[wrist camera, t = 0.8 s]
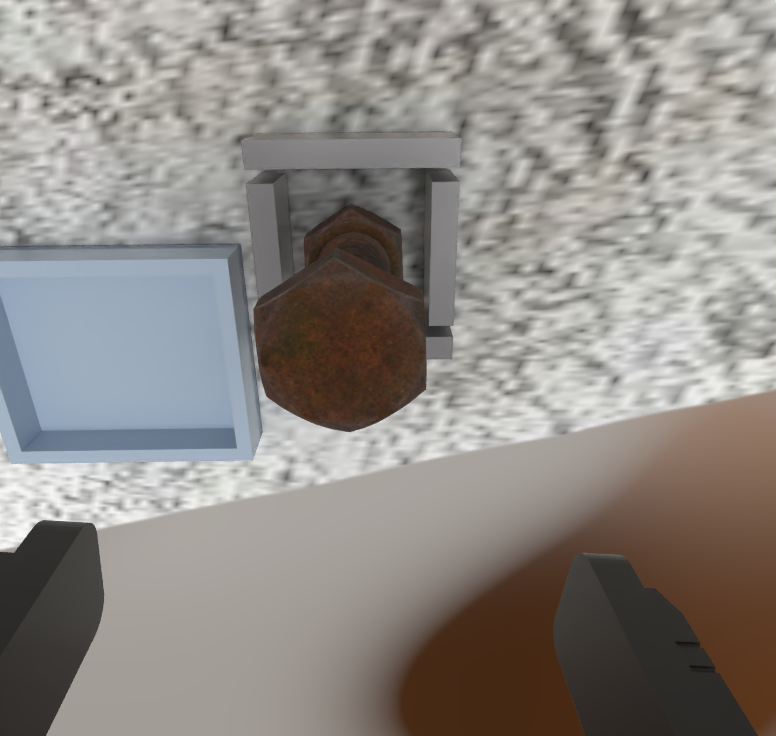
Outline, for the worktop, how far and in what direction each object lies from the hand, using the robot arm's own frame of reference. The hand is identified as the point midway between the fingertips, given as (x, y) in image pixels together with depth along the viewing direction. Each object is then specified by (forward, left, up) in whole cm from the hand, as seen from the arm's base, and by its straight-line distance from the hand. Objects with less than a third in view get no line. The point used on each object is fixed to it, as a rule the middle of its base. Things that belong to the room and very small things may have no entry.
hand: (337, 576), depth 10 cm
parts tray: (+13, +6, -24) cm, 28 cm away
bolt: (0, 0, -24) cm, 24 cm away
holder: (0, 0, -24) cm, 24 cm away
